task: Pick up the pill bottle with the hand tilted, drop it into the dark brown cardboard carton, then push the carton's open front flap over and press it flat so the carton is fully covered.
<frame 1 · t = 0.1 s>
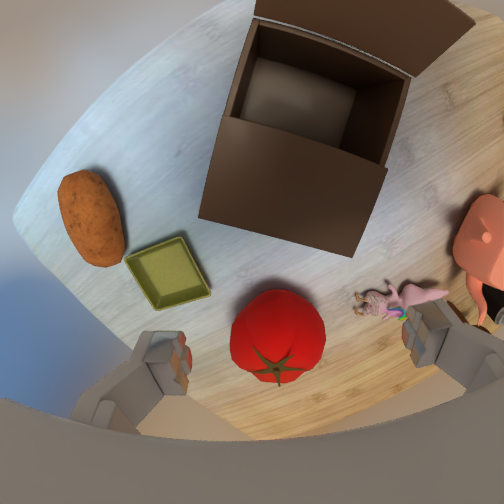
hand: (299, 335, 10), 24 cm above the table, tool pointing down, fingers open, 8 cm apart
flap: (362, 5, 11), point 15 cm above the table, hinge at 120.0°
camera: (495, 291, 38), on the table
teapot: (470, 226, 33), on the table
carton: (290, 130, 28), on the table
potato: (104, 212, 33), on the table
olive green tray: (171, 268, 36), on the table
tomato: (274, 310, 39), on the table
pink animal figure: (399, 292, 38), on the table
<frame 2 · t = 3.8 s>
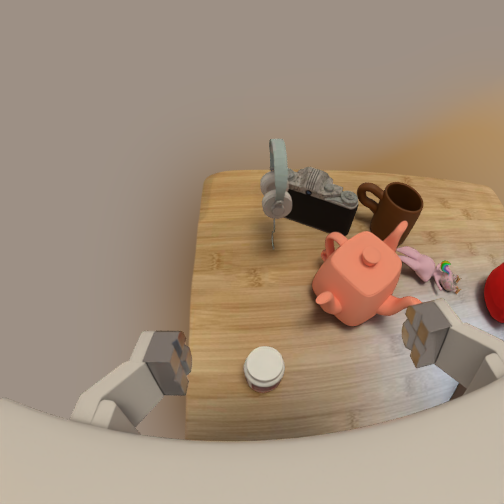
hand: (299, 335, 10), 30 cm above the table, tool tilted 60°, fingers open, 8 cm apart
camera: (312, 214, 53), on the table
teapot: (355, 299, 43), on the table
headphones: (272, 245, 49), on the table
mug: (376, 227, 51), on the table
tomato: (494, 305, 40), on the table
pink animal figure: (424, 276, 44), on the table
pill bottle: (263, 376, 36), on the table
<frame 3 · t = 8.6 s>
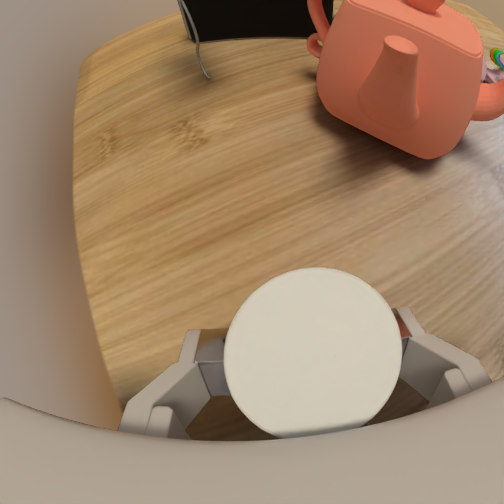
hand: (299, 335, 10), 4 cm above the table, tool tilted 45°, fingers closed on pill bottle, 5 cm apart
camera: (259, 27, 23), on the table
teapot: (404, 116, 18), on the table
headphones: (206, 76, 21), on the table
pink animal figure: (471, 79, 19), on the table
pill bottle: (295, 349, 14), on the table, touching gripper
when the fingers open (15 cm above the table, at t = 17.5 s): pill bottle drops 10 cm, resting on carton.
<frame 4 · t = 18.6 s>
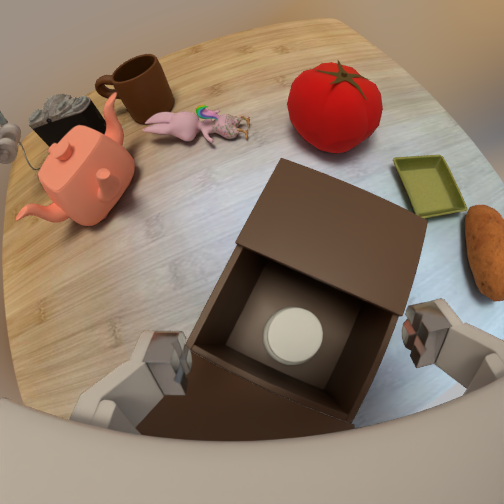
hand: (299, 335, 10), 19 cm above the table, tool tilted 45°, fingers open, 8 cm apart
flap: (247, 432, 12), point 15 cm above the table, hinge at 120.0°
camera: (81, 132, 42), on the table
teapot: (108, 195, 36), on the table
headphones: (48, 179, 39), on the table
carton: (304, 306, 29), on the table
mug: (142, 111, 41), on the table
potato: (477, 258, 28), on the table
olive green tray: (425, 192, 32), on the table
tomato: (330, 134, 36), on the table
pink animal figure: (198, 134, 38), on the table
pill bottle: (287, 337, 28), resting on carton
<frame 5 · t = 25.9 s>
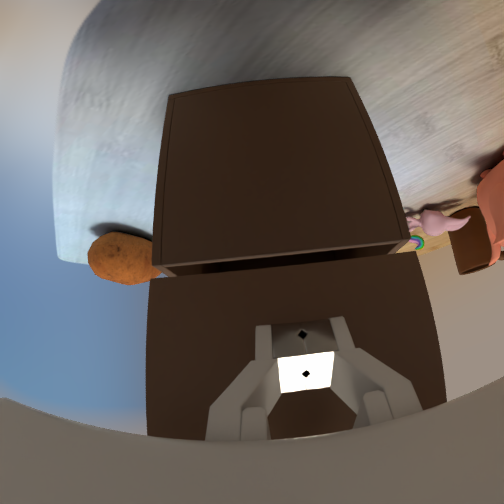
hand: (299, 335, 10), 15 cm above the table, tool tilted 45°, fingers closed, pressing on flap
flap: (296, 356, 10), point 16 cm above the table, hinge at 99.6°, touching gripper
teapot: (502, 162, 23), on the table
carton: (266, 149, 23), on the table
mug: (473, 212, 37), on the table
potato: (131, 236, 38), on the table
pink animal figure: (421, 209, 36), on the table
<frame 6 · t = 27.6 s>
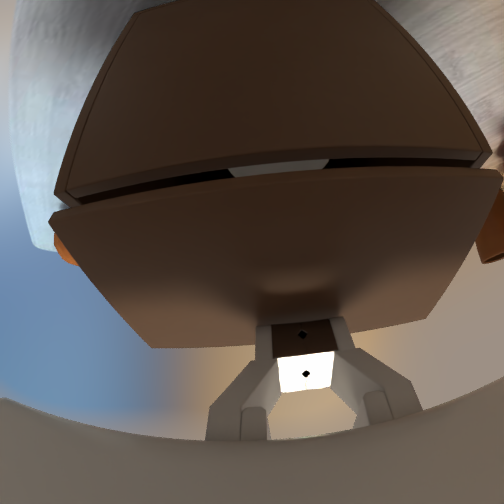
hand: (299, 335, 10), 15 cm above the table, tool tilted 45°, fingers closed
flap: (293, 284, 8), point 14 cm above the table, hinge at 23.4°
carton: (259, 87, 16), on the table
mug: (493, 194, 31), on the table
pill bottle: (258, 46, 13), resting on carton
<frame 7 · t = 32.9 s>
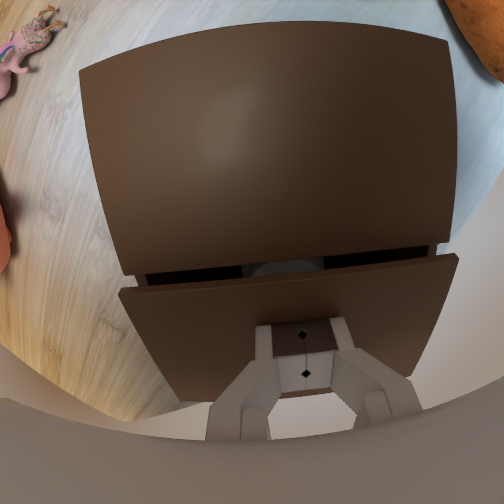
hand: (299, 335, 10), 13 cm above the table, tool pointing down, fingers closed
flap: (299, 350, 11), point 13 cm above the table, hinge at 6.4°
carton: (273, 180, 20), on the table
potato: (468, 24, 13), on the table
pink animal figure: (14, 72, 15), on the table
pill bottle: (276, 228, 21), resting on carton
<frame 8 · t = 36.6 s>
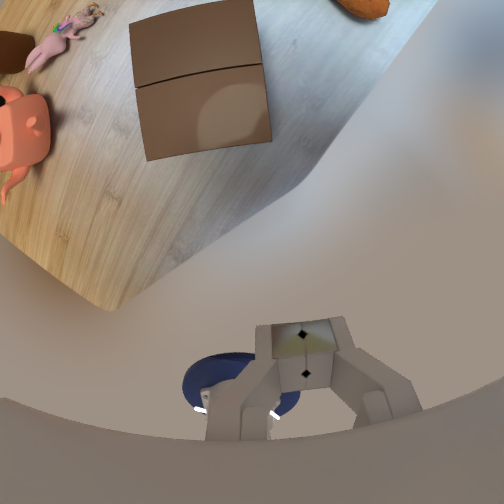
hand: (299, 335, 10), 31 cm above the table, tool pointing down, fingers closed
flap: (201, 111, 23), point 12 cm above the table, hinge at -0.1°
teapot: (40, 127, 34), on the table
carton: (214, 87, 32), on the table
mug: (15, 62, 27), on the table
pink animal figure: (67, 40, 27), on the table
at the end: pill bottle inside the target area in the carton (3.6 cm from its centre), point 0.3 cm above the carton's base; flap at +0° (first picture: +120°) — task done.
